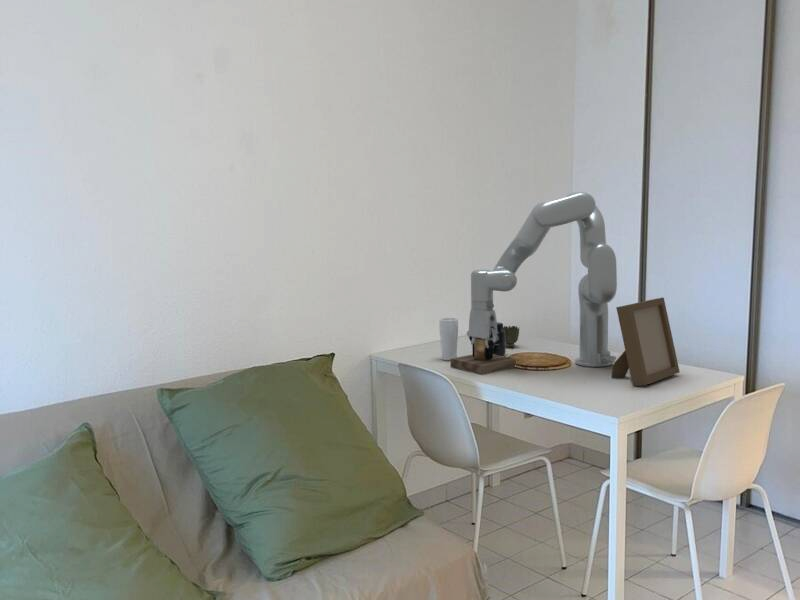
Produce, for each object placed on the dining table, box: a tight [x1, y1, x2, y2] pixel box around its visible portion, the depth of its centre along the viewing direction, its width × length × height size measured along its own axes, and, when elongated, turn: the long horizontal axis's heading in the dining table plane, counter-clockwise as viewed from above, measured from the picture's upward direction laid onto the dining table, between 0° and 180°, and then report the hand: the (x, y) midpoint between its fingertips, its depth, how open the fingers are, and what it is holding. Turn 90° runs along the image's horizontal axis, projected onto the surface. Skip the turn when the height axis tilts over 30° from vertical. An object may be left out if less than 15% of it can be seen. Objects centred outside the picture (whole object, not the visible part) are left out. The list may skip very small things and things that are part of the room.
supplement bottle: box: [493, 321, 507, 357], centre depth 283 cm, size 7×7×12 cm
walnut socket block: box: [449, 353, 517, 376], centre depth 264 cm, size 16×16×3 cm
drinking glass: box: [439, 317, 459, 361], centre depth 277 cm, size 7×7×15 cm
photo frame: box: [611, 297, 681, 387], centre depth 241 cm, size 15×22×25 cm
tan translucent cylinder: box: [474, 338, 490, 361], centre depth 263 cm, size 6×6×10 cm
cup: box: [502, 325, 520, 349], centre depth 298 cm, size 8×7×8 cm
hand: (482, 356), depth 264 cm, fingers closed on tan translucent cylinder, 5 cm apart
